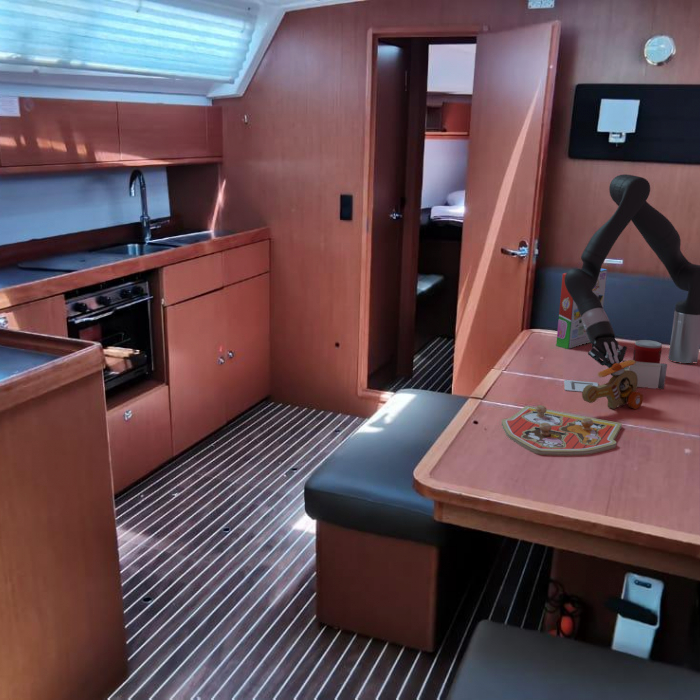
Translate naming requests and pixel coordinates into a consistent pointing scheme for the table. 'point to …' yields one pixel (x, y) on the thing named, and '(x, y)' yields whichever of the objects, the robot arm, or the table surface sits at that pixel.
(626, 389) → the toy helicopter
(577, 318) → the game box
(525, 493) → the table surface
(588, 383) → the card
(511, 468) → the table surface
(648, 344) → the canned food
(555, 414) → the knob puzzle
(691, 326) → the robot arm
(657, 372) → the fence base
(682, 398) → the table surface
